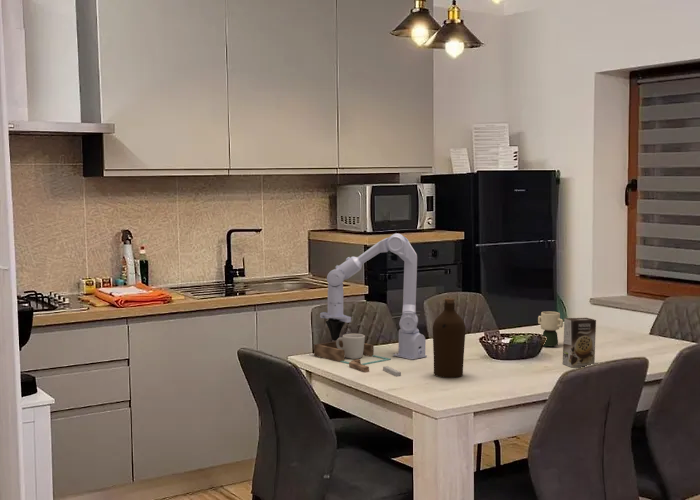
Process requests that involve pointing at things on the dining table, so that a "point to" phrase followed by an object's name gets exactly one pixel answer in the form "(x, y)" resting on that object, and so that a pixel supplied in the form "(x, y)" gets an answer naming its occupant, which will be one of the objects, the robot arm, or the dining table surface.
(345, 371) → the dining table surface
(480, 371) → the dining table surface
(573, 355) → the cookie box
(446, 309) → the olive oil
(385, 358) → the bay
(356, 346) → the cup
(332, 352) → the cubby
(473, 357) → the dining table surface
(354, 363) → the crook stick
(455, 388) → the dining table surface
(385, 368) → the straight stick
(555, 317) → the beige and green trophy
